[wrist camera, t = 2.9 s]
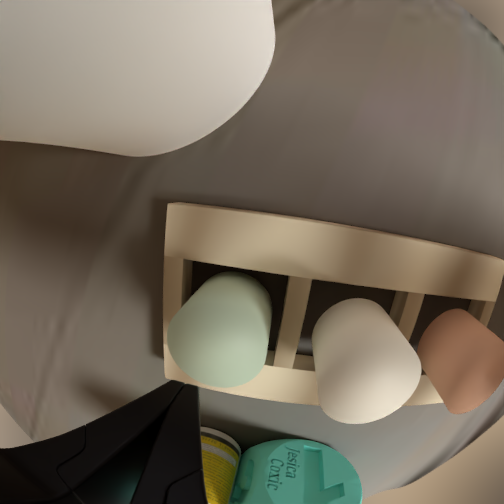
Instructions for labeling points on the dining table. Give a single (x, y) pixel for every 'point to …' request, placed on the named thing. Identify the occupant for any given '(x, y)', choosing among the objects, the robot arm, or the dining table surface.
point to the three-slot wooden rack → (321, 268)
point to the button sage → (222, 330)
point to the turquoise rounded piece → (295, 475)
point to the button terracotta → (461, 360)
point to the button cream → (362, 362)
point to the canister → (128, 70)
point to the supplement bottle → (219, 464)
